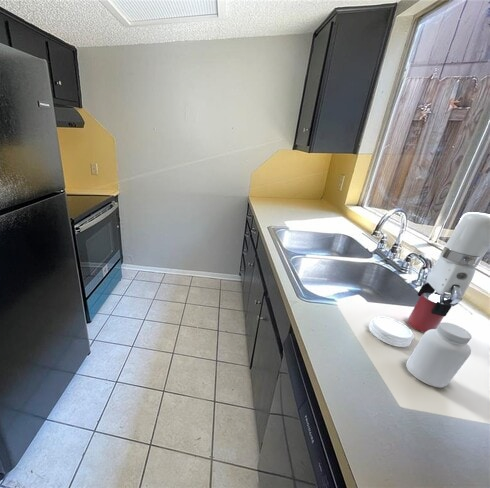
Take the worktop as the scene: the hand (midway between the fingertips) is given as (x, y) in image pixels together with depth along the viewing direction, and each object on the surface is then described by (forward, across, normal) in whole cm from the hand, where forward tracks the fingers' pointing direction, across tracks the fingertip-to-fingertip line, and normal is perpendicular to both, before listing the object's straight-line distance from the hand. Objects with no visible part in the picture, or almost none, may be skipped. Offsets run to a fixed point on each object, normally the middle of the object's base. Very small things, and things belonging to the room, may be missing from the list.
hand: (430, 305), depth 80 cm
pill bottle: (+8, -23, +6) cm, 25 cm away
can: (+8, 0, -1) cm, 8 cm away
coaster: (+9, -10, +10) cm, 17 cm away
